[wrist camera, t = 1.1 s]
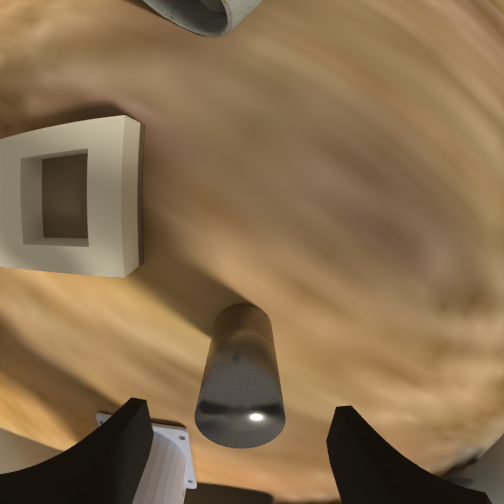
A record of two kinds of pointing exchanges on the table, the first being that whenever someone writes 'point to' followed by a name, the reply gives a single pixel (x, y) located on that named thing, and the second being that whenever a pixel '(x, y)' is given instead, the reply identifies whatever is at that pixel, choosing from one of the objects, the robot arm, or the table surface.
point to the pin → (241, 381)
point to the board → (73, 198)
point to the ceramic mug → (205, 14)
